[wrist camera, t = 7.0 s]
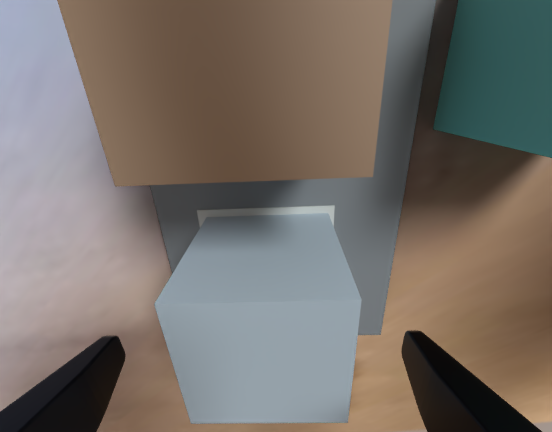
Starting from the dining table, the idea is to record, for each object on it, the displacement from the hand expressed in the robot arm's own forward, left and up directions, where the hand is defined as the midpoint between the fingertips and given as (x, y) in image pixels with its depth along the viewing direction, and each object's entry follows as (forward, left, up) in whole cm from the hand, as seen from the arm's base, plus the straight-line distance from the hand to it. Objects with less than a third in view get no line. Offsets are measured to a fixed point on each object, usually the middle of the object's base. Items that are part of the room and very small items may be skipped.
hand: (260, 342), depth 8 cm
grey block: (0, 0, -4) cm, 4 cm away
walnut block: (0, -8, -4) cm, 9 cm away
